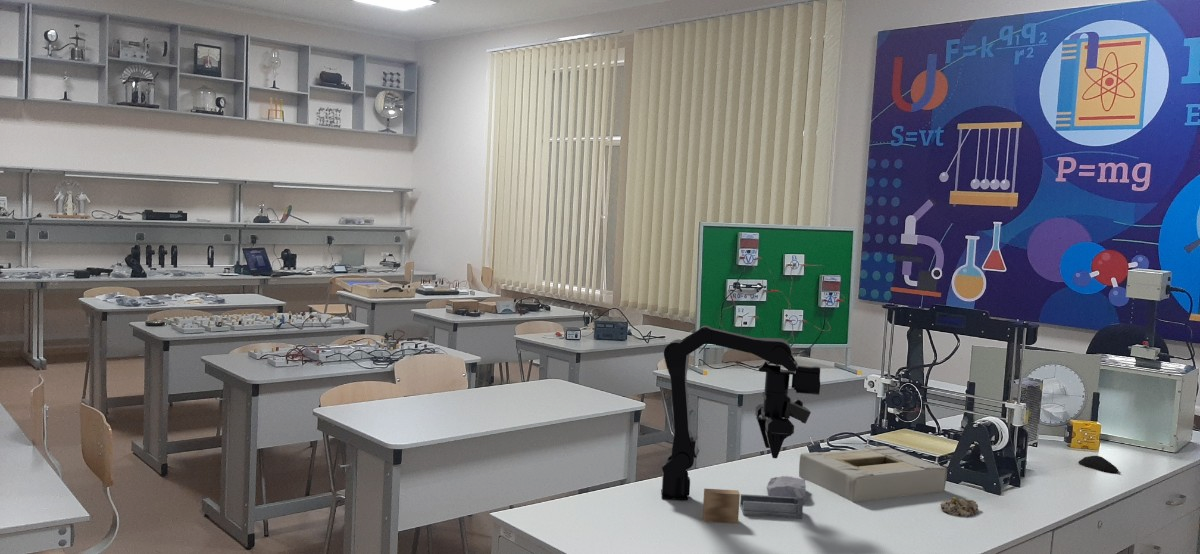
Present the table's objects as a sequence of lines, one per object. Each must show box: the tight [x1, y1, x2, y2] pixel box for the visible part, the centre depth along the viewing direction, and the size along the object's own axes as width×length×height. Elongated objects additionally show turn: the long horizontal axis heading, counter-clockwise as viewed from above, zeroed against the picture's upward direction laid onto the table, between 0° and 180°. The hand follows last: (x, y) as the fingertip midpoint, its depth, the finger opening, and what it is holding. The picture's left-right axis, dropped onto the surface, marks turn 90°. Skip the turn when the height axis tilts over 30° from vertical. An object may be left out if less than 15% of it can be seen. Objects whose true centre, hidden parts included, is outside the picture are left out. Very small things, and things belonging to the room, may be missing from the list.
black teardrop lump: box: [1078, 455, 1123, 476], centre depth 266 cm, size 6×15×4 cm, turn 23°
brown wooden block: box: [702, 488, 741, 524], centre depth 205 cm, size 8×3×7 cm, turn 88°
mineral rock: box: [939, 496, 979, 518], centre depth 220 cm, size 11×4×8 cm
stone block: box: [766, 475, 807, 503], centre depth 228 cm, size 12×5×10 cm
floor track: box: [739, 489, 804, 519], centre depth 213 cm, size 14×7×5 cm, turn 88°
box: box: [798, 445, 948, 503], centre depth 240 cm, size 23×8×32 cm
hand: (771, 452), depth 216 cm, fingers open, 9 cm apart
